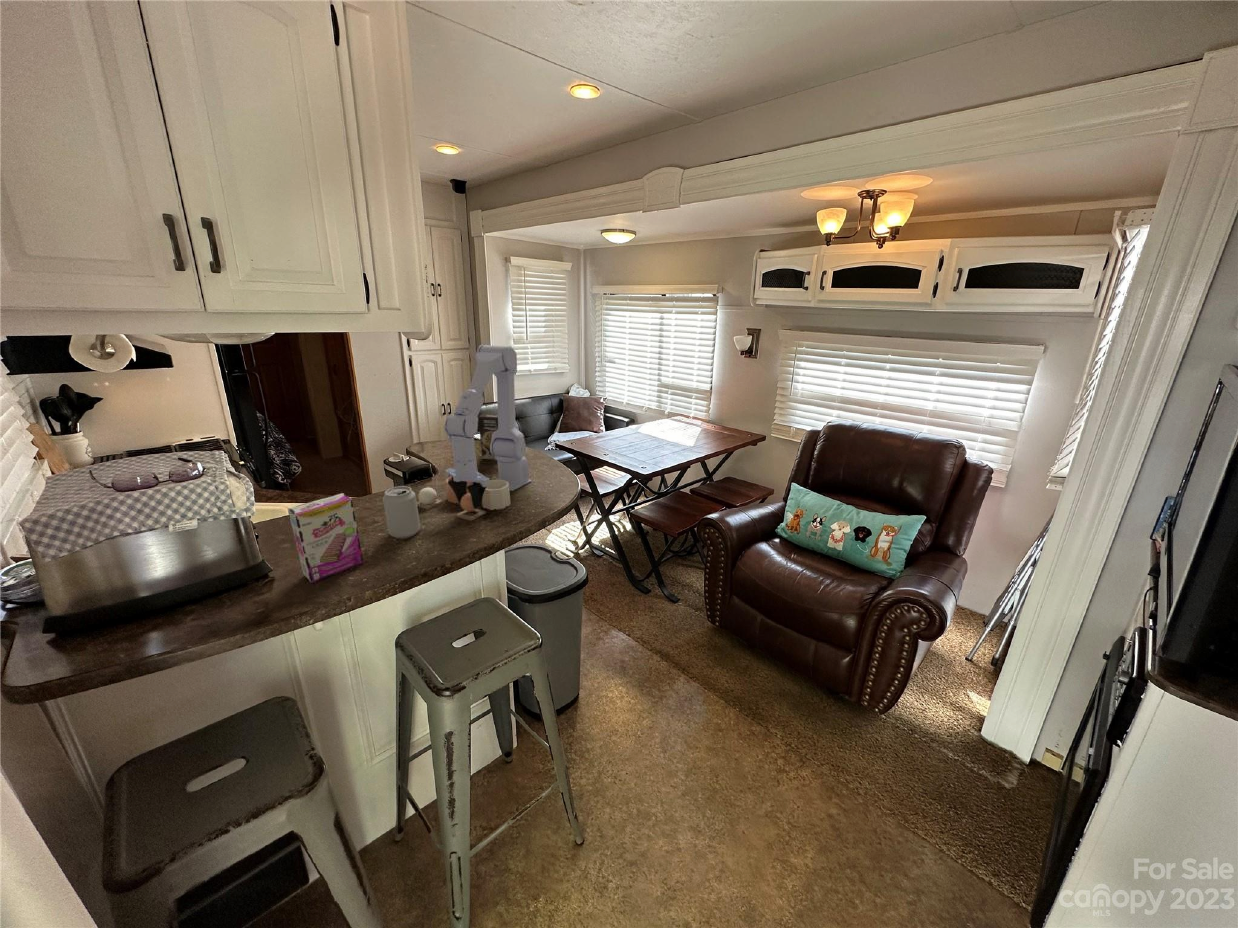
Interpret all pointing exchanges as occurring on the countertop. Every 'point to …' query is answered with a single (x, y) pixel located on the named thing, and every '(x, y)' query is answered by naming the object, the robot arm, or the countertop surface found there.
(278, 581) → the countertop surface
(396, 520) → the can
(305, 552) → the candy bar box
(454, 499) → the terracotta round cup
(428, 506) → the stand
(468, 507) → the terracotta ball
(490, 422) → the coffee box
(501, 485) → the white cup
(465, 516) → the stand
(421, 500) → the cream ball
